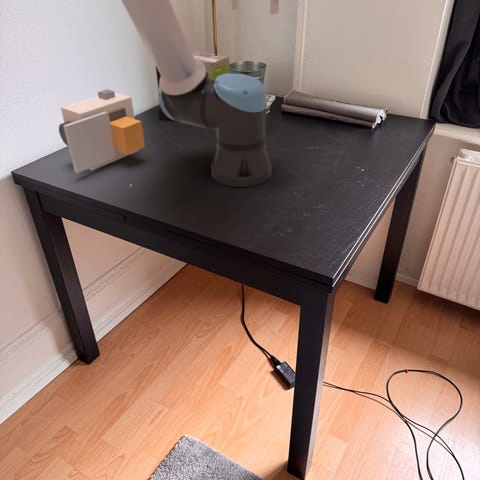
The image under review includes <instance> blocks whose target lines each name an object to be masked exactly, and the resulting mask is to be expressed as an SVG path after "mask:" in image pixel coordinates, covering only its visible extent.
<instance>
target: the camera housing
mask: <svg viewBox="0 0 480 480" xmlns="http://www.w3.org/2000/svg"><path fill="white" fill-rule="evenodd" d="M60 110H61V111H60V112H61V115H62V118H63V122H62V123H60V124H59V125H58V133H59V136H60V139H62V141H63V143H64V144H65V145H66V146H67V147H68V143H67V139H66V135H65V131H64V127H63V125H66V124H69V123H72V122H75V121H78V120H81V119H84V118H87V117H90V116H93V115H96V114H99V113H102V112H108V115H109V120H110V122H112V121H115V120H117V119H120V118H123V117H129V118H132V119H135V114H134V113H135V112H134V105H133V99H132V97H131V96H129V95H125V94H121V93H118V92H115V91H114V90H112V89H111V90H110V89H104V90H101V91H98V92H97V96H93V97H90V98H87V99H84V100H80V101H77V102H74V103H71V104H68V105H63V106H60ZM139 151H140V149H139V150H137V151H134V152H132V153H130V154H124V153H122V152H119V151H117V150H115V153H116V157H115V158H113V159H110V160H108V161H106V162H103V163H101V164H98V165H96V166H94V167H91V168H89V169H88V170H90V171H95V170H97V169H99V168H101V167H104V166H106V165H109V164H110V163H114V162H116V161H118V160H120V159H122V158H123V159H124V157H127V156H130V155H132V154H134V153H137V152H139Z"/></svg>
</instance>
